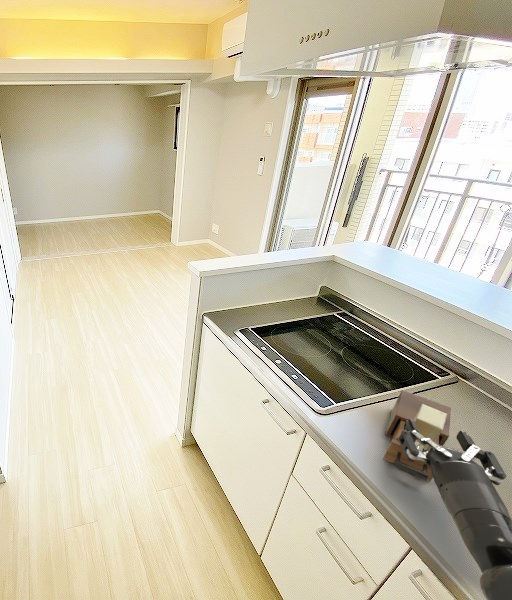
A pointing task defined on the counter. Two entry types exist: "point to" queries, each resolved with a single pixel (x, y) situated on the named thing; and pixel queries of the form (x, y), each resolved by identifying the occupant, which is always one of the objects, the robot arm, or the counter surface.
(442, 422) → the cosmetic box
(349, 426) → the counter surface
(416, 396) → the cabinet
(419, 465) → the drawer
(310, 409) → the counter surface
